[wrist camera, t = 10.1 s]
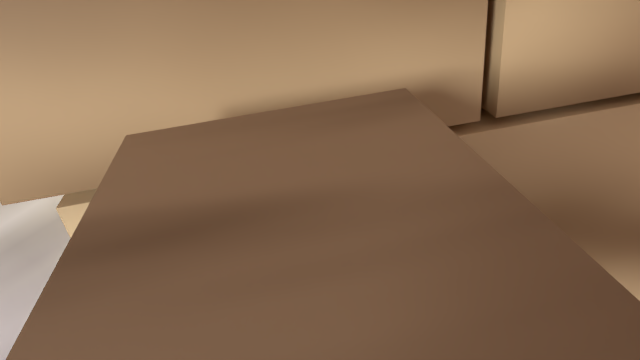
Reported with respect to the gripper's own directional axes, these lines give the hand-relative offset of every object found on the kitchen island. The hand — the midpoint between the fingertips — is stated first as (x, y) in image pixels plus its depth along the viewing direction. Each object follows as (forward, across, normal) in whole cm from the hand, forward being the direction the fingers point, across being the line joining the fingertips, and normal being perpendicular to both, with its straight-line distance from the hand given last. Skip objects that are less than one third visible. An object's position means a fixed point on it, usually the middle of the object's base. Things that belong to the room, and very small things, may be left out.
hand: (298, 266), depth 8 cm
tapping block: (+1, 0, 0) cm, 1 cm away
